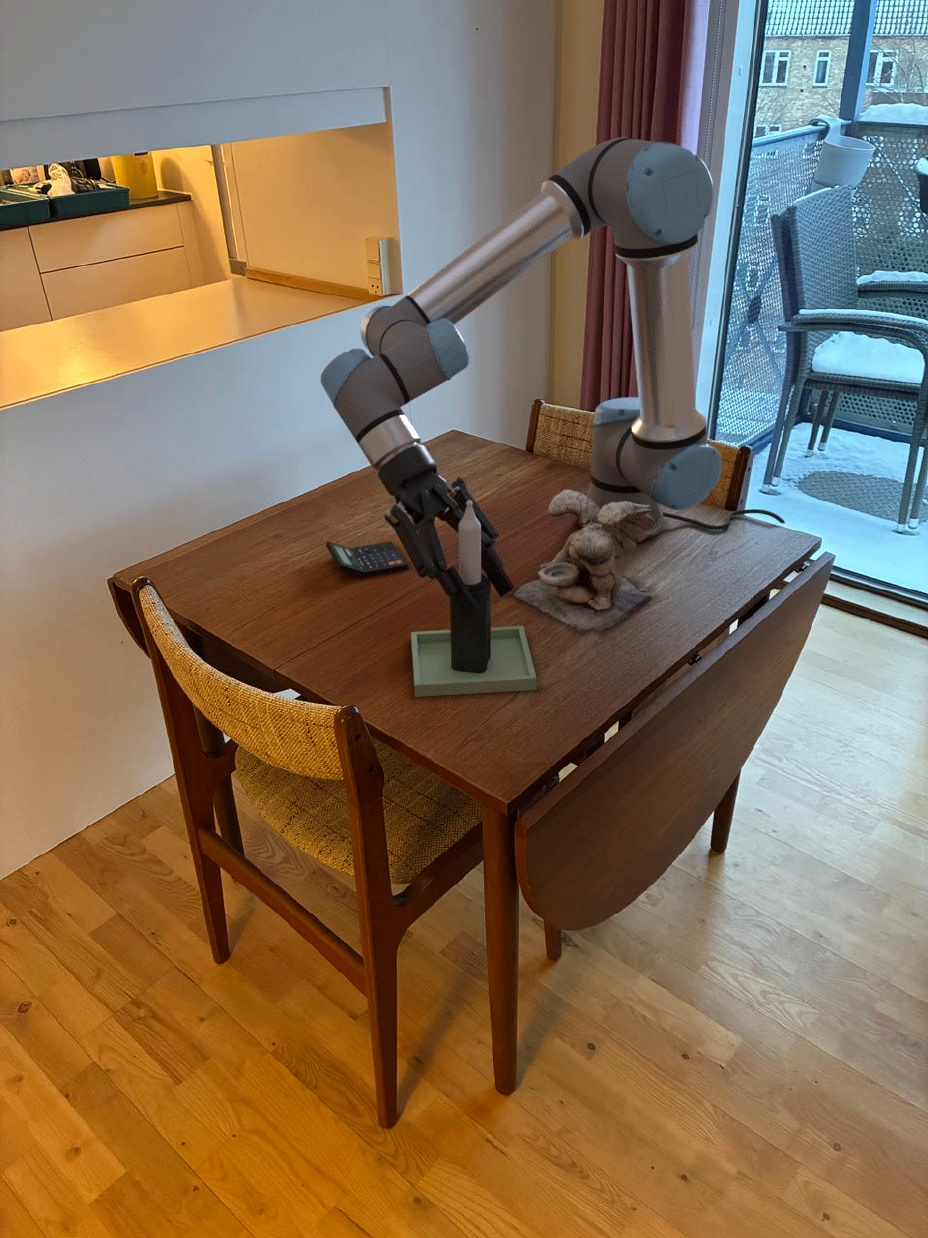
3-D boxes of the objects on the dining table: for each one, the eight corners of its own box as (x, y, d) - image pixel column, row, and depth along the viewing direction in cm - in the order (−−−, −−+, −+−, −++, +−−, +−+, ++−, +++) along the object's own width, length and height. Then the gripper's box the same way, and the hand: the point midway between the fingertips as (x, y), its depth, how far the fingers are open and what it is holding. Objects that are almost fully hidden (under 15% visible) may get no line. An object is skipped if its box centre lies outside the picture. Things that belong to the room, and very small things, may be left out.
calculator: (407, 568, 162) (406, 552, 160) (340, 581, 158) (338, 565, 157) (391, 545, 169) (390, 530, 168) (327, 556, 166) (325, 541, 164)
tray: (523, 637, 143) (523, 625, 142) (536, 690, 131) (536, 678, 130) (411, 643, 142) (410, 631, 141) (414, 697, 130) (414, 685, 129)
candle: (485, 674, 134) (485, 510, 121) (449, 670, 135) (445, 507, 122) (492, 654, 138) (492, 493, 125) (457, 651, 139) (454, 491, 126)
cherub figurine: (504, 597, 153) (505, 494, 144) (574, 559, 164) (579, 460, 155) (593, 638, 142) (601, 529, 133) (662, 593, 153) (673, 490, 144)
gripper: (435, 451, 138) (521, 586, 137) (333, 492, 126) (426, 641, 125) (462, 424, 133) (551, 565, 132) (357, 465, 120) (455, 620, 119)
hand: (490, 602), depth 128 cm, fingers open, 6 cm apart
